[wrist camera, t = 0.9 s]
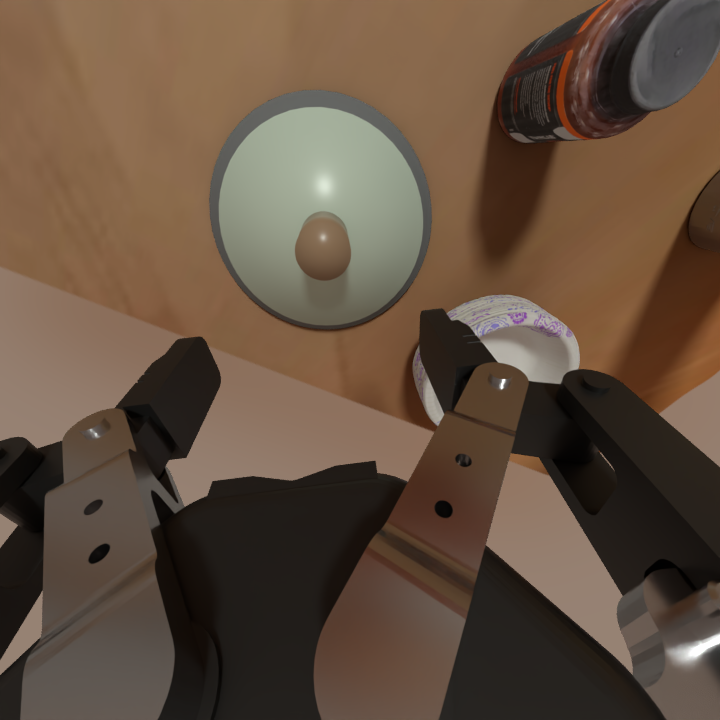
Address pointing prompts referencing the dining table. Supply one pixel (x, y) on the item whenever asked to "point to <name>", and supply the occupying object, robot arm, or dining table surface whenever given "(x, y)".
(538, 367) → the paper bowls
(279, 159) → the lid
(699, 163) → the dining table surface
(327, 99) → the mat
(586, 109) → the supplement bottle
